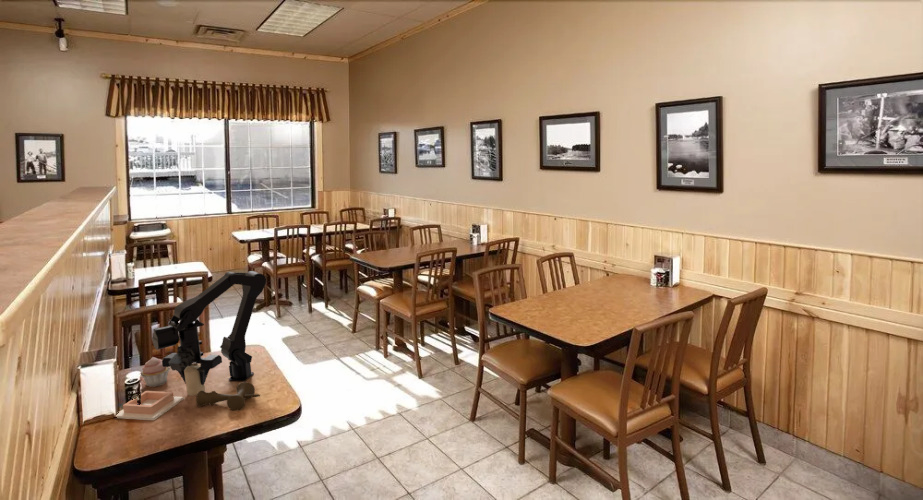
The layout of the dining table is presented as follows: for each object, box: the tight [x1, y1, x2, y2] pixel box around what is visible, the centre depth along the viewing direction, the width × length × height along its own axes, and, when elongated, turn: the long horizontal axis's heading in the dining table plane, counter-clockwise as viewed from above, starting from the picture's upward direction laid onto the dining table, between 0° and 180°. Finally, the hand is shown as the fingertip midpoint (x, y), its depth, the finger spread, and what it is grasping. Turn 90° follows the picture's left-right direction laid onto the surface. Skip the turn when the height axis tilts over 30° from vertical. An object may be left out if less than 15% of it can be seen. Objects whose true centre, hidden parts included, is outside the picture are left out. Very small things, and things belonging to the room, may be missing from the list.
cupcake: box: [139, 356, 171, 388], centre depth 188 cm, size 9×9×10 cm
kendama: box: [195, 381, 261, 412], centre depth 172 cm, size 6×10×20 cm
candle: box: [184, 363, 206, 397], centre depth 180 cm, size 6×6×10 cm
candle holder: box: [116, 390, 185, 421], centre depth 171 cm, size 14×14×3 cm
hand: (195, 384), depth 181 cm, fingers closed on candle, 5 cm apart
